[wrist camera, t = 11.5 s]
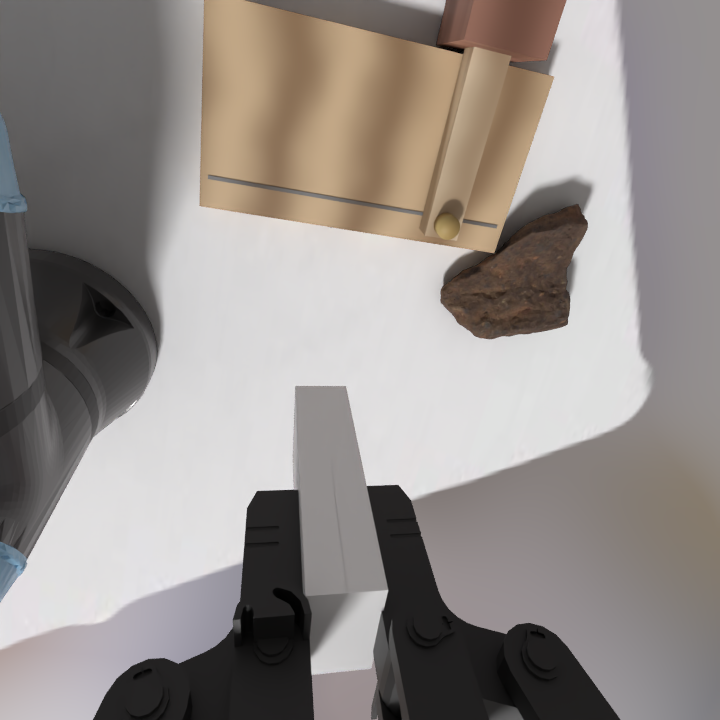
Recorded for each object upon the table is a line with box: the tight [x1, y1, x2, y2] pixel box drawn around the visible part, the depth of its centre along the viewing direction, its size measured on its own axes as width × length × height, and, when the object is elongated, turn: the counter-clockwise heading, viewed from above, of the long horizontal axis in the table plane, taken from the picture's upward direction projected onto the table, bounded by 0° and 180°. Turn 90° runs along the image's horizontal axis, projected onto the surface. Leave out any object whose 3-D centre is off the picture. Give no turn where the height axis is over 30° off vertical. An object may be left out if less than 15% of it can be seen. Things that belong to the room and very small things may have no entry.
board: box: [200, 0, 554, 253], centre depth 33 cm, size 22×12×2 cm, turn 79°
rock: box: [441, 204, 588, 339], centre depth 39 cm, size 11×10×4 cm
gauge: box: [419, 0, 566, 241], centre depth 31 cm, size 5×15×6 cm, turn 169°
